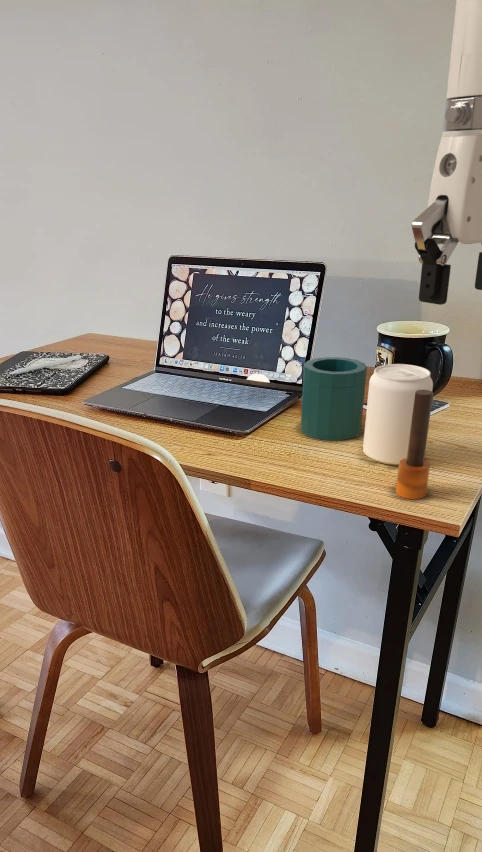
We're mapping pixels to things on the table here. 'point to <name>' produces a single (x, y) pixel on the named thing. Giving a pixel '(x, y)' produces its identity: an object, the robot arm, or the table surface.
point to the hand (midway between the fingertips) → (460, 296)
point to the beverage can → (392, 410)
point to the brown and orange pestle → (416, 450)
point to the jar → (333, 398)
